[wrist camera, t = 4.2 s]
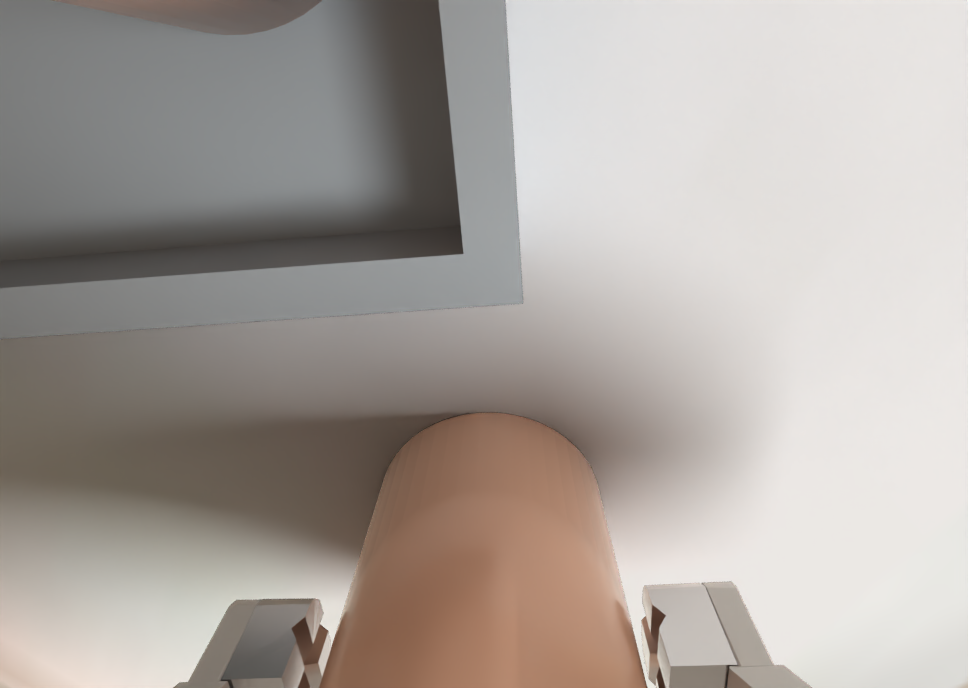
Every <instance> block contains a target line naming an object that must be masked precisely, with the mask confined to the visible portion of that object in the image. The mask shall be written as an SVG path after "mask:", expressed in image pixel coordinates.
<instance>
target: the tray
mask: <svg viewBox="0 0 968 688" xmlns="http://www.w3.org/2000/svg"><path fill="white" fill-rule="evenodd" d="M510 304H523V291H522V274H521V257H520V240H519V223H518V206H517V189H516V173H515V156H514V139H513V122H512V105H511V88H510V71H509V54H508V37H507V20H506V4H505V0H322V1H321V2H320V3H319V4H317V5H316V6H315V7H313V8H312V9H311V10H309V11H308V12H307V13H305V14H304V15H302V16H300V17H298V18H297V19H295V20H293V21H291V22H289V23H287V24H285V25H282V26H279V27H276V28H274V29H271V30H268V31H263V32H258V33H252V34H247V35H221V34H213V33H205V32H200V31H195V30H191V29H186V28H181V27H176V26H171V25H167V24H162V23H157V22H152V21H148V20H143V19H138V18H133V17H129V16H124V15H119V14H114V13H109V12H105V11H100V10H95V9H90V8H86V7H81V6H76V5H71V4H67V3H62V2H57V1H52V0H0V339H11V338H25V337H40V336H55V335H69V334H84V333H99V332H113V331H128V330H143V329H157V328H172V327H187V326H201V325H216V324H231V323H246V322H260V321H275V320H290V319H304V318H319V317H334V316H348V315H363V314H378V313H392V312H407V311H422V310H436V309H451V308H466V307H480V306H495V305H510Z"/></svg>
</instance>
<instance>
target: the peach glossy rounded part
mask: <svg viewBox="0 0 968 688" xmlns="http://www.w3.org/2000/svg"><path fill="white" fill-rule="evenodd" d="M52 1H57V2H62V3H67V4H71V5H76V6H81V7H86V8H90V9H95V10H100V11H105V12H109V13H114V14H119V15H124V16H129V17H133V18H138V19H143V20H148V21H152V22H157V23H162V24H167V25H171V26H176V27H181V28H186V29H191V30H195V31H200V32H205V33H213V34H221V35H247V34H252V33H258V32H263V31H268V30H271V29H274V28H276V27H279V26H282V25H285V24H287V23H289V22H291V21H293V20H295V19H297V18H298V17H300V16H302V15H304V14H305V13H307V12H308V11H309V10H311V9H312V8H313V7H315V6H316V5H317V4H319V3H320V2H321V1H322V0H52Z"/></svg>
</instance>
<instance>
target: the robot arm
mask: <svg viewBox="0 0 968 688" xmlns="http://www.w3.org/2000/svg"><path fill="white" fill-rule="evenodd" d="M642 603H643V607H644V611H645V614H646V616H645V617H644V618H643V619H642V620H641V636H642V647H643V655H644V660H645V665H646V669H647V674H648V678H649V680H650V681H651V682H652V683H653V684H654V685H655V686H656V688H812V687H811V686H810V685H808V684H807V683H806V682H805V681H803V680H802V679H801V678H800V677H798V676H797V675H796V674H794V673H793V672H792V671H791V670H789V669H788V668H787V667H786V666H784V665H774V663H773V661H772V659H771V657H770V655H769V653H768V651H767V649H766V647H765V645H764V643H763V641H762V639H761V636H760V634H759V632H758V630H757V628H756V626H755V624H754V622H753V620H752V618H751V616H750V614H749V612H748V610H747V608H746V605H745V603H744V601H743V599H742V597H741V595H740V593H739V591H738V589H737V587H736V585H734V584H733V583H732V582H731V581H730V582H708V583H684V584H663V585H644V588H643V594H642ZM322 616H323V609H322V606H321V603H320V600H319V599H315V598H311V599H259V600H236V601H234V602H233V603H232V604H231V605H230V606H229V607H228V609H227V611H226V612H225V614H224V616H223V618H222V620H221V622H220V624H219V625H218V627H217V629H216V631H215V633H214V635H213V637H212V638H211V640H210V642H209V644H208V646H207V648H206V650H205V651H204V653H203V655H202V657H201V659H200V661H199V662H198V664H197V666H196V668H195V670H194V672H193V674H192V675H191V677H190V679H189V681H188V682H180V683H178V684H177V685H176V686H175V687H173V688H319V686H320V683H321V679H322V676H323V673H324V670H325V667H326V663H327V660H328V657H329V654H330V651H331V640H330V636H329V632H328V630H326V629H325V628H324V627H323V626H322V625H320V622H321V619H322Z"/></svg>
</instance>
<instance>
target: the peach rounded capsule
mask: <svg viewBox="0 0 968 688" xmlns="http://www.w3.org/2000/svg"><path fill="white" fill-rule="evenodd" d="M319 688H647V685H646V681H645V677H644V673H643V669H642V665H641V660H640V656H639V652H638V648H637V644H636V640H635V636H634V632H633V628H632V623H631V619H630V615H629V611H628V607H627V603H626V599H625V595H624V591H623V586H622V582H621V578H620V574H619V570H618V566H617V562H616V558H615V554H614V550H613V545H612V541H611V537H610V533H609V529H608V525H607V521H606V517H605V513H604V508H603V504H602V500H601V496H600V492H599V488H598V484H597V480H596V477H595V475H594V473H593V470H592V468H591V466H590V465H589V463H588V462H587V460H586V458H585V457H584V456H583V454H582V453H581V452H580V451H579V450H578V449H577V447H576V446H575V445H573V444H572V443H571V442H570V441H569V440H568V439H567V438H565V437H564V436H563V435H561V434H560V433H558V432H557V431H555V430H554V429H552V428H550V427H548V426H546V425H544V424H542V423H539V422H537V421H534V420H531V419H528V418H525V417H521V416H516V415H512V414H504V413H473V414H465V415H460V416H456V417H452V418H449V419H446V420H443V421H441V422H438V423H436V424H434V425H432V426H430V427H428V428H426V429H424V430H423V431H421V432H420V433H418V434H417V435H415V436H414V437H412V438H411V439H410V440H409V441H408V442H407V443H406V444H405V445H404V446H403V447H402V448H401V449H400V450H399V452H398V453H397V454H396V455H395V457H394V458H393V460H392V462H391V464H390V465H389V467H388V469H387V472H386V474H385V477H384V480H383V483H382V486H381V490H380V493H379V496H378V499H377V502H376V506H375V509H374V512H373V515H372V519H371V522H370V525H369V528H368V531H367V535H366V538H365V541H364V544H363V547H362V551H361V554H360V557H359V560H358V564H357V567H356V570H355V573H354V576H353V580H352V583H351V586H350V589H349V593H348V596H347V599H346V602H345V605H344V609H343V612H342V615H341V618H340V622H339V625H338V628H337V631H336V634H335V638H334V641H333V644H332V647H331V651H330V654H329V657H328V660H327V663H326V667H325V670H324V673H323V676H322V679H321V683H320V686H319Z"/></svg>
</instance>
